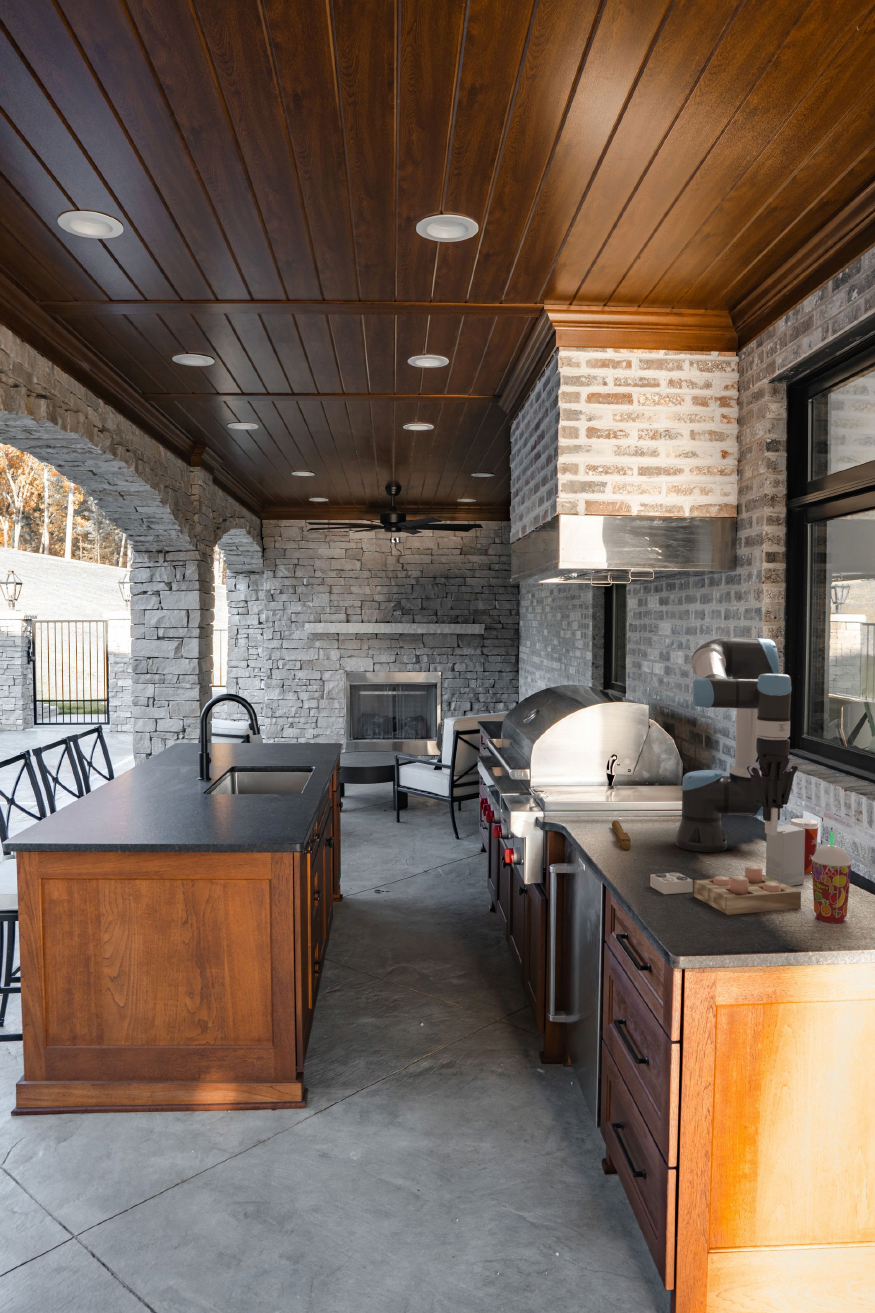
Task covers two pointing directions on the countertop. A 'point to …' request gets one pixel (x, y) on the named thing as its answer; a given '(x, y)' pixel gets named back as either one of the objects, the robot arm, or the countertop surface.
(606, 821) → the countertop surface
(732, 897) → the board
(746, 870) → the button
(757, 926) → the countertop surface
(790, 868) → the skincare box
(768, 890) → the button
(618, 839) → the tap handle
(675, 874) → the white flat block
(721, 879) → the button
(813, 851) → the paper cup
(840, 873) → the smoothie
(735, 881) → the button
